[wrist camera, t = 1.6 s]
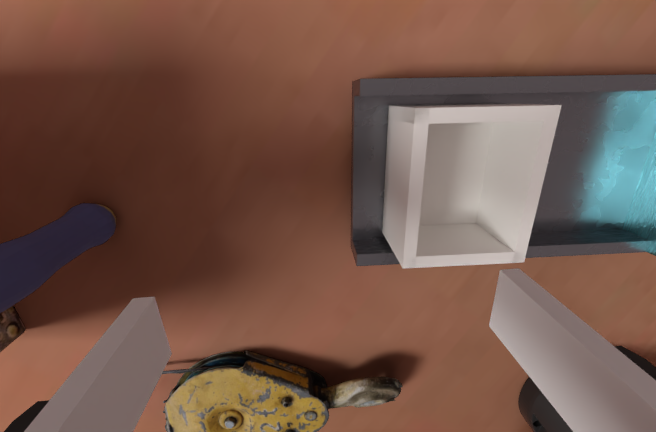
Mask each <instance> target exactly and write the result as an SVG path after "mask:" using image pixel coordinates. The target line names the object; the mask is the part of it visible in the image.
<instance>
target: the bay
mask: <svg viewBox="0 0 656 432" xmlns="http://www.w3.org/2000/svg"><path fill="white" fill-rule="evenodd" d="M489 103H508V104H542V105H562V106H561V110H560V114H559V118H558V123H557V127H556V131H555V135H554V139H553V144H552V148H551V152H550V156H549V160H548V164H547V169H546V173H545V177H544V181H543V185H542V190H541V194H540V198H539V202H538V206H537V210H536V215H535V219H534V223H533V227H532V231H531V236H530V240H529V244H528V248H527V252H526V256H525V258H532V257H552V256H573V255H593V254H614V253H634V252H648V253H650V254H653V255H655V256H656V74H649V75H583V76H517V77H451V78H384V79H358V80H355V81H353V82H352V167H351V249H352V252H353V255H354V259H355V262H356V265H357V266H368V265H388V264H400V263H399V261H398V259H397V258H396V256H395V254H394V252H393V251H392V249H391V247H390V245H389V243H388V242H387V240H386V238H385V236H384V235H383V233H382V229H383V209H384V189H385V169H386V149H387V130H388V110H389V105H439V104H489Z"/></svg>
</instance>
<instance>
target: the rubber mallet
mask: <svg viewBox="0 0 656 432" xmlns="http://www.w3.org/2000/svg"><path fill="white" fill-rule="evenodd" d="M115 228H116V217H115V215H114V213H113V212H112V210H110V209H109V208H108V207H106V206H104V205H100V204H89V203H82V204H79V205H76V206H74V207H72V208H71V209H70V210H69V211H68V212H67V213H66V214H65V215H64V216H62V217H61V218H59V219H58V220H56V221H54V222H52V223H50V224H48V225H46V226H44V227H42V228H40V229H38V230H36V231H34V232H32V233H30V234H28V235H25V236H23V237H20V238H17V239H14V240H11V241H8V242H5V243H2V244H0V313H1V312H3V311H5V310H6V309H8V308H10V307H11V306H13V305H14V304H16V303H18V302H19V301H21V300H22V299H24V298H25V297H27V296H28V295H30V294H31V293H33V292H34V291H35V290H36V289H38V288H39V287H40V286H41V285H42V284H43V283H44V282H45V281H47V280H48V279H49V278H50V277H51V276H52V275H53V274H54V273H55V272H56V271H57V270H59V269H60V268H61V267H62V266H64V265H65V264H67V263H68V262H70V261H71V260H73V259H74V258H76V257H77V256H79V255H80V254H82V253H83V252H85V251H86V250H88V249H90V248H92V247H95V246H98V245H101V244H103V243H105V242H106V241H107V240H108V239H109V238H110V237H111V236H112V235H113V234H114V232H115Z"/></svg>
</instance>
